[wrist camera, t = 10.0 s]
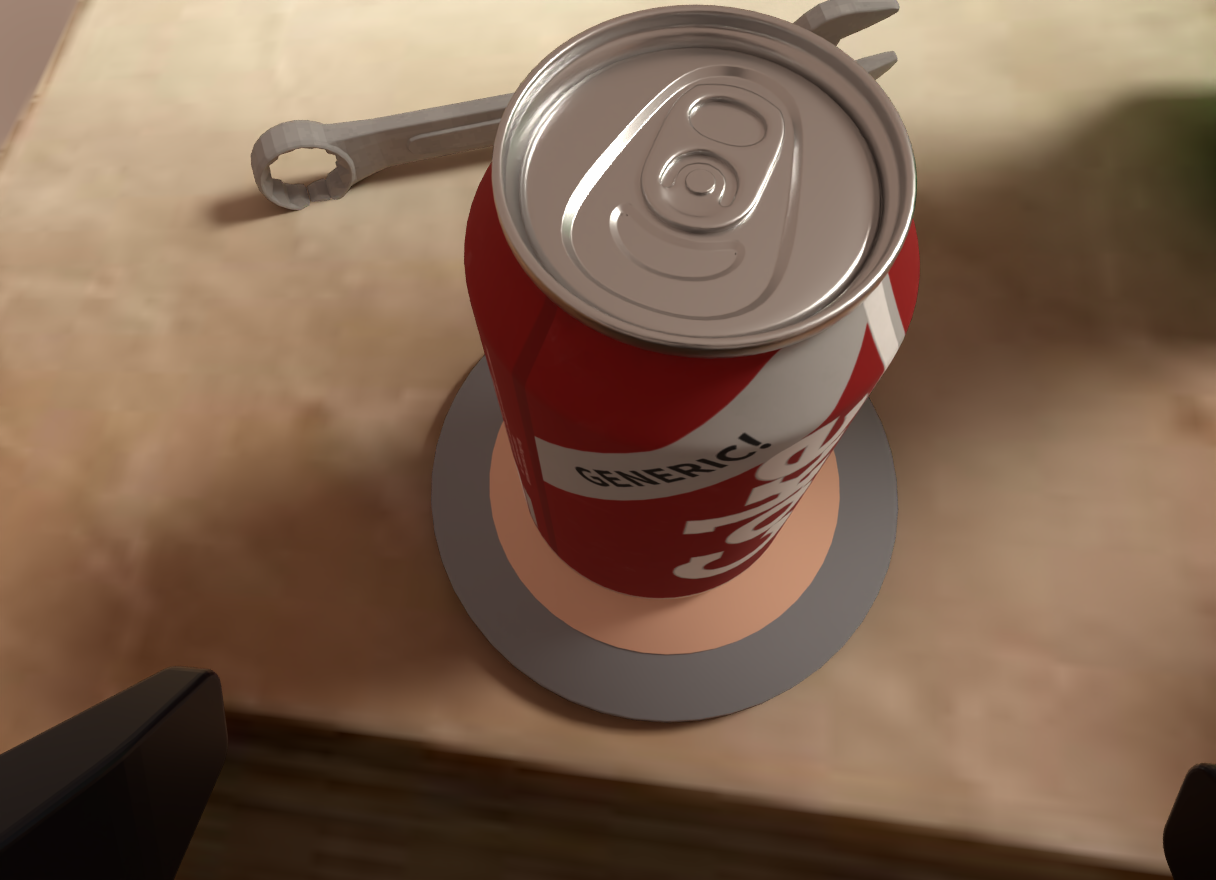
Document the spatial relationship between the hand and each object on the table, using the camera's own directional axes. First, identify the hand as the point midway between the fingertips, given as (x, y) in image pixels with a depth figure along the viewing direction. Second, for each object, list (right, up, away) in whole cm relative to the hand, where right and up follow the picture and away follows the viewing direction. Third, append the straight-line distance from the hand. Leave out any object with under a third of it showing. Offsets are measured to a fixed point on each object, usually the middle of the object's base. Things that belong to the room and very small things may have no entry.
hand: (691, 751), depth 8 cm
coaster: (+1, +2, +15) cm, 15 cm away
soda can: (0, +2, +14) cm, 15 cm away
